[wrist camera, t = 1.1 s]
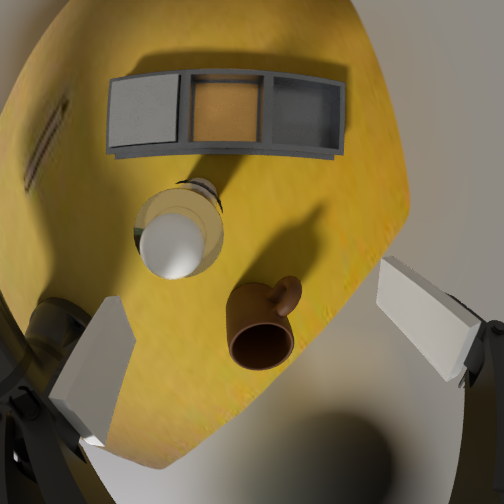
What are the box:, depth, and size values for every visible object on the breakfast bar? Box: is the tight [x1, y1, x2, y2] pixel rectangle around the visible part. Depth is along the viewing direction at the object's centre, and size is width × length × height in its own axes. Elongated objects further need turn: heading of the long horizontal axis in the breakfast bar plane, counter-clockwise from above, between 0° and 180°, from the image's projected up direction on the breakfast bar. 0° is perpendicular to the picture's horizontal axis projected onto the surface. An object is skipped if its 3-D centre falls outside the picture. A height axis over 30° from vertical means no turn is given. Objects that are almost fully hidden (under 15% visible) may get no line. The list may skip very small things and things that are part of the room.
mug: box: [226, 276, 302, 370], centre depth 32 cm, size 12×8×9 cm, turn 150°
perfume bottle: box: [134, 178, 224, 280], centre depth 22 cm, size 6×6×20 cm
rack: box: [106, 69, 345, 160], centre depth 26 cm, size 26×10×5 cm, turn 88°
